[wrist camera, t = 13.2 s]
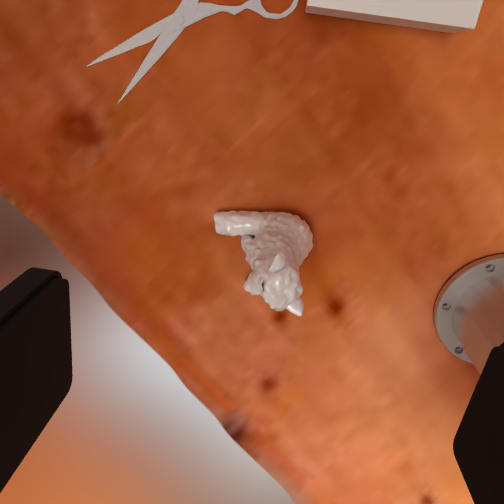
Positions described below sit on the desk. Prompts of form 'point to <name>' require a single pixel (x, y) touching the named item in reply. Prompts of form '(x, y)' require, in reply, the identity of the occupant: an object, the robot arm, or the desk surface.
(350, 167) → the desk surface
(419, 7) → the post base
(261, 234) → the seated beast figurine
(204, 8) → the scissors
